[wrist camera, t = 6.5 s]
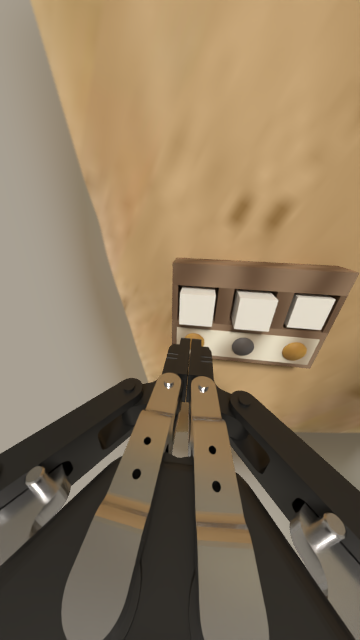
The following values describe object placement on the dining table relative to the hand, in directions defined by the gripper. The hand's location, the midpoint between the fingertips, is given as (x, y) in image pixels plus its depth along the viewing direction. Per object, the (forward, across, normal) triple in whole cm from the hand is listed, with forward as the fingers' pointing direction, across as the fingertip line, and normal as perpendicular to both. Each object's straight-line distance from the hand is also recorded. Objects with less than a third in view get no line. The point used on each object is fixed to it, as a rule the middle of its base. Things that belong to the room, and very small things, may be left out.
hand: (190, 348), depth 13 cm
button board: (+11, -6, +2) cm, 13 cm away
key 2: (+10, -12, 0) cm, 16 cm away
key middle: (+9, -6, 0) cm, 11 cm away
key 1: (+9, 0, 0) cm, 9 cm away
